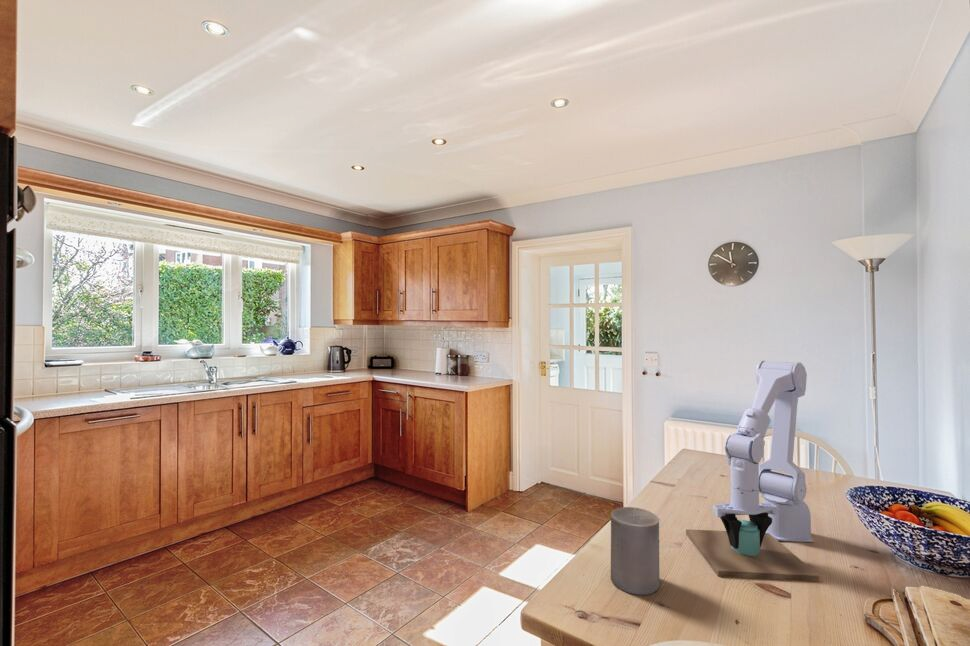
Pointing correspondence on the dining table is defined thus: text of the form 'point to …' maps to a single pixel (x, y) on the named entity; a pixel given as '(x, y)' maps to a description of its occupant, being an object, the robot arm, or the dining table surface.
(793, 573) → the brown flat square slab
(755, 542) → the cap
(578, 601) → the dining table surface
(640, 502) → the dining table surface
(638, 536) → the pillar candle
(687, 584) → the dining table surface
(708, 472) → the dining table surface
